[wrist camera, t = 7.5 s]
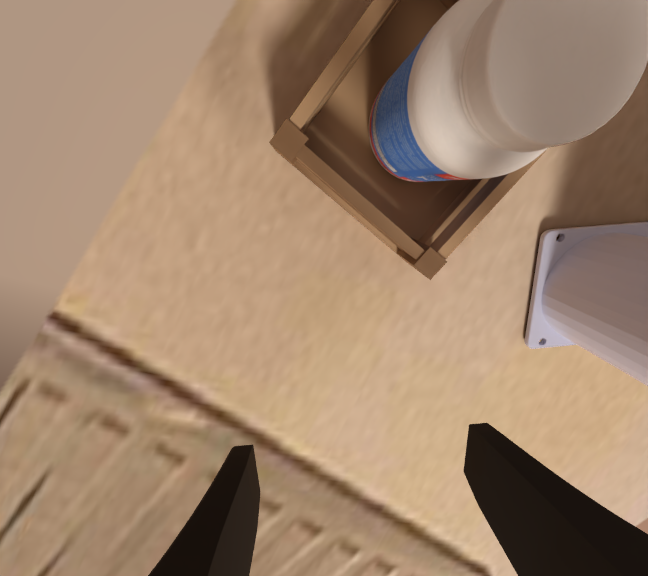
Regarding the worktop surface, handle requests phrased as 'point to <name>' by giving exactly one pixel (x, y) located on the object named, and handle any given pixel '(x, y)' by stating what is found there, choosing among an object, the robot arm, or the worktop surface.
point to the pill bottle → (507, 85)
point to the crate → (355, 149)
